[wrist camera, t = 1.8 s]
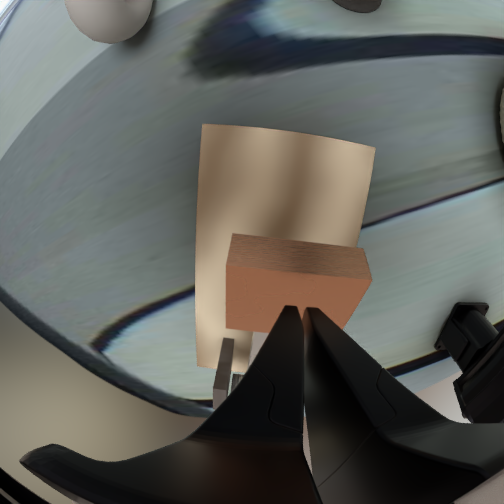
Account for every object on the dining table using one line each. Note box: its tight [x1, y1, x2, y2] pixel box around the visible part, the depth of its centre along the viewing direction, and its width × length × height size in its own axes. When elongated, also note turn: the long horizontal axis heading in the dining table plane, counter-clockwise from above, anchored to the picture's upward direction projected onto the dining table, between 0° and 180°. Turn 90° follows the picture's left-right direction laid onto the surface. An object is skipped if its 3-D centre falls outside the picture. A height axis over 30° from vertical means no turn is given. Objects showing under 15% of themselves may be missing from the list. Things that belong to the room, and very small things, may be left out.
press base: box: [195, 124, 375, 410], centre depth 19 cm, size 12×22×8 cm, turn 174°
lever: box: [226, 233, 372, 392], centre depth 15 cm, size 5×17×2 cm, turn 174°
